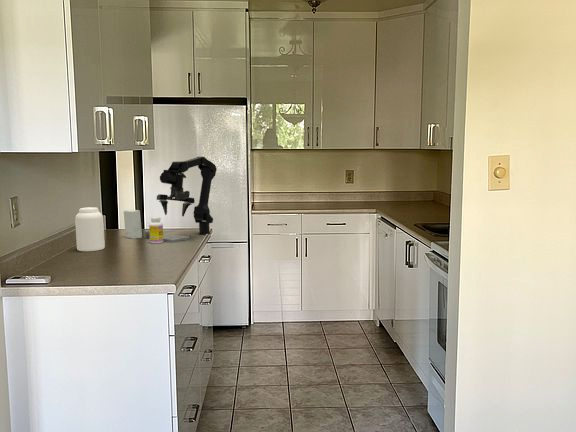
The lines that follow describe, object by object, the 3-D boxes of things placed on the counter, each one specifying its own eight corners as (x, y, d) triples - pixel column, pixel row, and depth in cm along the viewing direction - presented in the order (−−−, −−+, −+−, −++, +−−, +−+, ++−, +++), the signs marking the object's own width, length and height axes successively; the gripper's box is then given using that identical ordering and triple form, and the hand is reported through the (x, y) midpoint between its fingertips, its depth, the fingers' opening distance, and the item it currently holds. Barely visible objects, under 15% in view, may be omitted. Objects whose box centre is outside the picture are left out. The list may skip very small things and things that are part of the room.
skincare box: (142, 237, 289) (141, 210, 288) (132, 239, 285) (130, 211, 283) (134, 236, 295) (133, 209, 294) (124, 237, 291) (123, 210, 289)
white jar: (104, 250, 253) (102, 208, 250) (76, 252, 249) (73, 209, 247) (105, 246, 265) (102, 205, 262) (77, 248, 261) (75, 207, 258)
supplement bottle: (159, 244, 269) (158, 218, 268) (147, 243, 271) (146, 218, 269) (165, 241, 276) (164, 216, 274) (153, 241, 277) (152, 216, 276)
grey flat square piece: (174, 237, 290) (174, 234, 290) (189, 238, 283) (189, 236, 283) (156, 240, 281) (156, 238, 281) (172, 242, 274) (172, 239, 274)
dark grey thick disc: (145, 237, 292) (145, 231, 291) (161, 236, 293) (160, 230, 293) (144, 239, 284) (144, 233, 283) (160, 238, 285) (160, 232, 285)
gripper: (165, 182, 267) (162, 214, 266) (200, 187, 277) (197, 217, 276) (157, 183, 276) (154, 214, 276) (191, 187, 286) (189, 217, 286)
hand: (174, 215), depth 278 cm, fingers open, 9 cm apart
